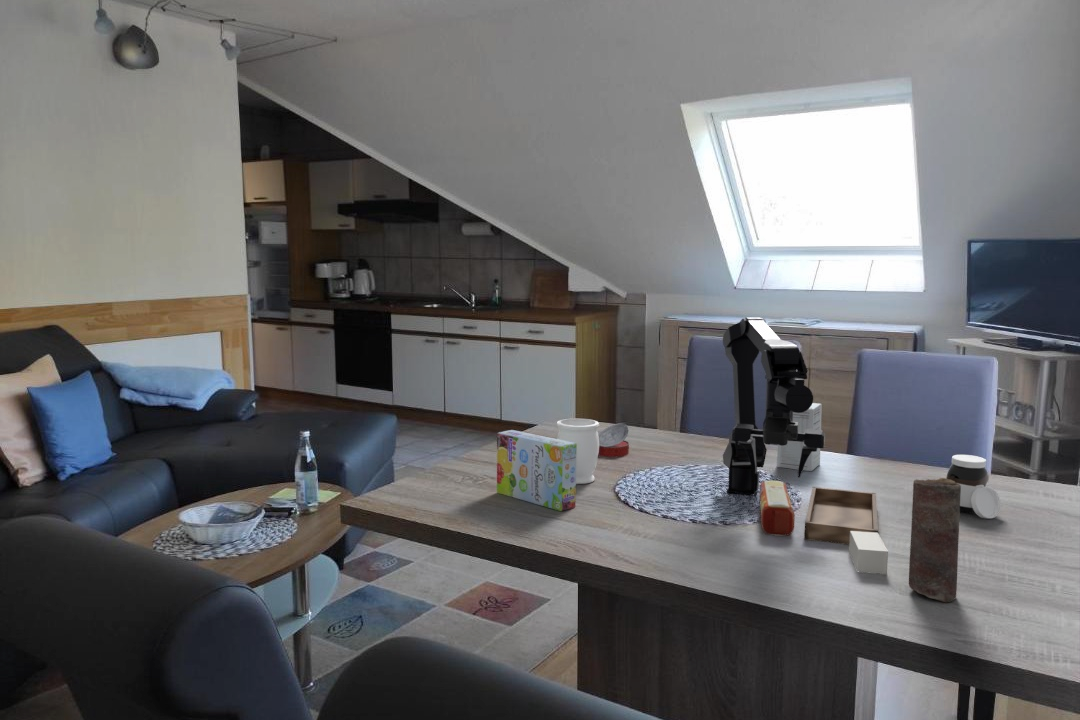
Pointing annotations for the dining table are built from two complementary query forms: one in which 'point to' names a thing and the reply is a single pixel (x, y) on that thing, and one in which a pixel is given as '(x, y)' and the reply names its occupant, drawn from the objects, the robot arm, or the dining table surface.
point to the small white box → (868, 552)
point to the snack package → (776, 508)
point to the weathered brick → (935, 538)
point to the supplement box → (792, 451)
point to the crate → (839, 514)
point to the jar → (582, 445)
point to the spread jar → (974, 486)
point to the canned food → (614, 441)
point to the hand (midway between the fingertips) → (776, 474)
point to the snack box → (537, 469)
